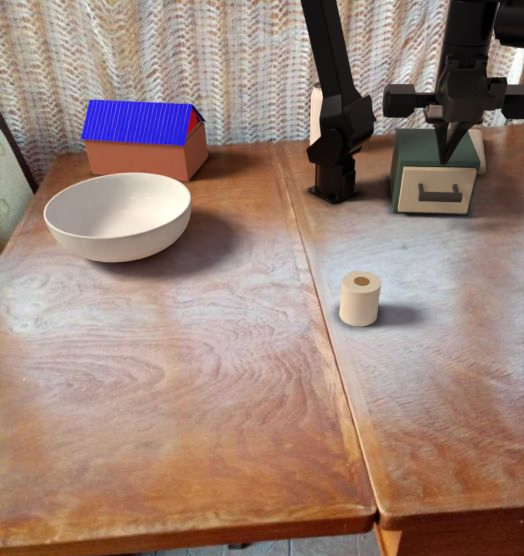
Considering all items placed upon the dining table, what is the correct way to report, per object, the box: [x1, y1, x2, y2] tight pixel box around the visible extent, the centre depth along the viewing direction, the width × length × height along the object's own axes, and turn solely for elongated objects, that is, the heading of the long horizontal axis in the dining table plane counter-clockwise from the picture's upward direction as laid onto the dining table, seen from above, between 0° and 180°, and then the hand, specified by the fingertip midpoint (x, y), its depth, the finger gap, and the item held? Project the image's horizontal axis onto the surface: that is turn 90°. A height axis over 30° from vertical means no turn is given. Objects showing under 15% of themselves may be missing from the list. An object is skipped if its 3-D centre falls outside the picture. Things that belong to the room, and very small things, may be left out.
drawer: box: [398, 166, 477, 213], centre depth 85 cm, size 17×10×7 cm, turn 172°
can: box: [309, 81, 323, 147], centre depth 103 cm, size 6×6×12 cm
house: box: [80, 98, 209, 182], centre depth 100 cm, size 12×20×12 cm, turn 76°
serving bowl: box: [43, 173, 193, 263], centre depth 80 cm, size 21×21×7 cm
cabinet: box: [389, 127, 481, 216], centre depth 87 cm, size 14×12×9 cm
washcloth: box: [422, 126, 487, 176], centre depth 101 cm, size 12×18×3 cm, turn 167°
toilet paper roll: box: [338, 270, 382, 327], centre depth 65 cm, size 5×5×5 cm
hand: (442, 164), depth 77 cm, fingers closed
